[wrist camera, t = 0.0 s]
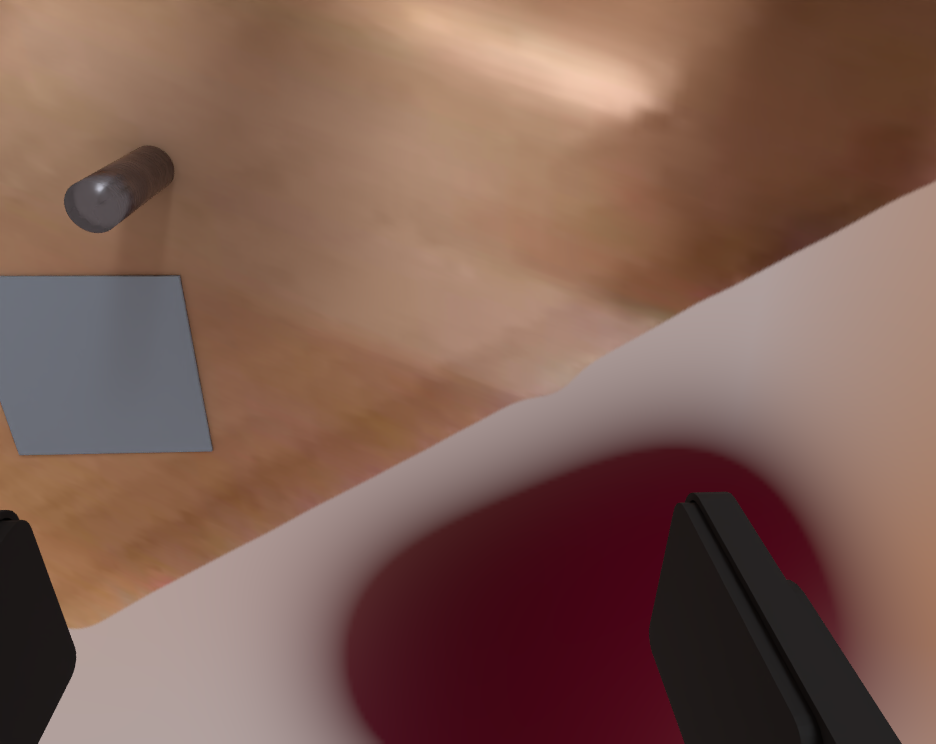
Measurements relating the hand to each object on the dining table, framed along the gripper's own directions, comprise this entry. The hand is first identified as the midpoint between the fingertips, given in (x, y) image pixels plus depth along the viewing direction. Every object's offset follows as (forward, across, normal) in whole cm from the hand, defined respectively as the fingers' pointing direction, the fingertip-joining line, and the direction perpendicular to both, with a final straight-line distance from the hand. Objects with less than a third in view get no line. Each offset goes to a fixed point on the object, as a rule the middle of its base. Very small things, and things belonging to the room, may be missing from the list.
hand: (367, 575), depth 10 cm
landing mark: (+37, +22, +16) cm, 46 cm away
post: (+37, +15, +2) cm, 40 cm away
